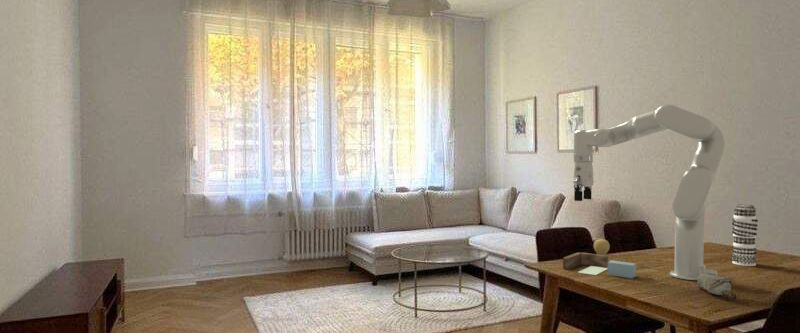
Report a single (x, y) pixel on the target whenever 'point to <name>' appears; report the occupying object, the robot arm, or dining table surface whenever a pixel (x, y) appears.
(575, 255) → the wall far
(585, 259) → the wall side
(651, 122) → the robot arm
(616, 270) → the block
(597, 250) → the light bulb
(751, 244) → the decorative candle
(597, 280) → the dining table surface
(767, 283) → the dining table surface
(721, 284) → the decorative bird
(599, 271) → the pad
